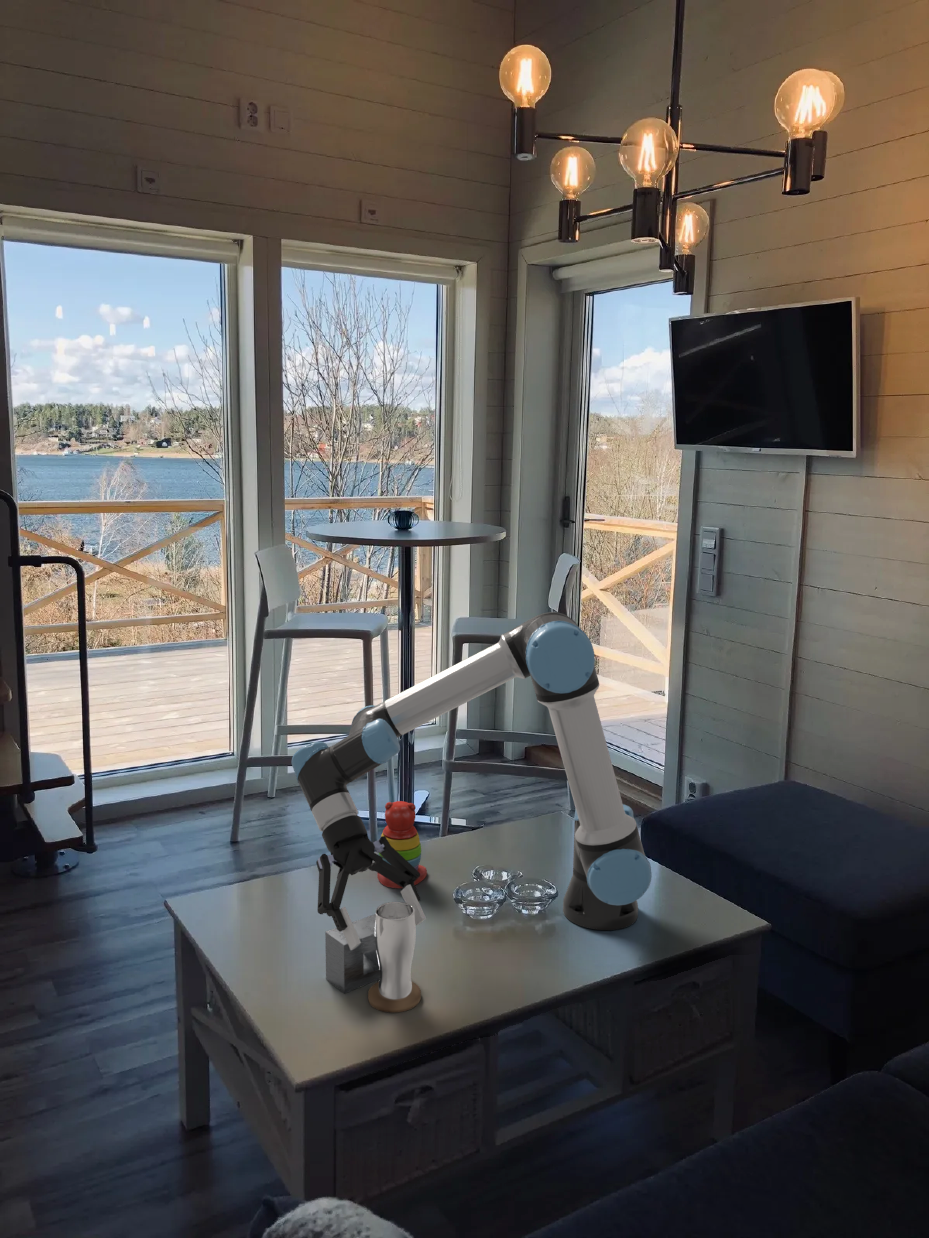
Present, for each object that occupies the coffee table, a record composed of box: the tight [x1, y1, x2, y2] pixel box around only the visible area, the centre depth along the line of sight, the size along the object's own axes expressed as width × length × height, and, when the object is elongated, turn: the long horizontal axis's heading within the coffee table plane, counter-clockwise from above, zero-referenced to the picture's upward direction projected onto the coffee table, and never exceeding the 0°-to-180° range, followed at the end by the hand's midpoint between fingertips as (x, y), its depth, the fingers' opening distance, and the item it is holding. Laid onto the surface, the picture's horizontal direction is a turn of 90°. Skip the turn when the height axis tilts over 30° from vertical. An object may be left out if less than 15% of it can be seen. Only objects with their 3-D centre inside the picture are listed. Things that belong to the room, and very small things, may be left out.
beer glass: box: [375, 901, 417, 1002], centre depth 165 cm, size 7×7×15 cm
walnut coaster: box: [367, 981, 422, 1014], centre depth 166 cm, size 9×9×1 cm
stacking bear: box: [376, 800, 428, 889], centre depth 211 cm, size 11×10×18 cm
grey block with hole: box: [324, 913, 380, 994], centre depth 173 cm, size 6×12×9 cm, turn 130°
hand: (389, 934), depth 165 cm, fingers open, 13 cm apart
